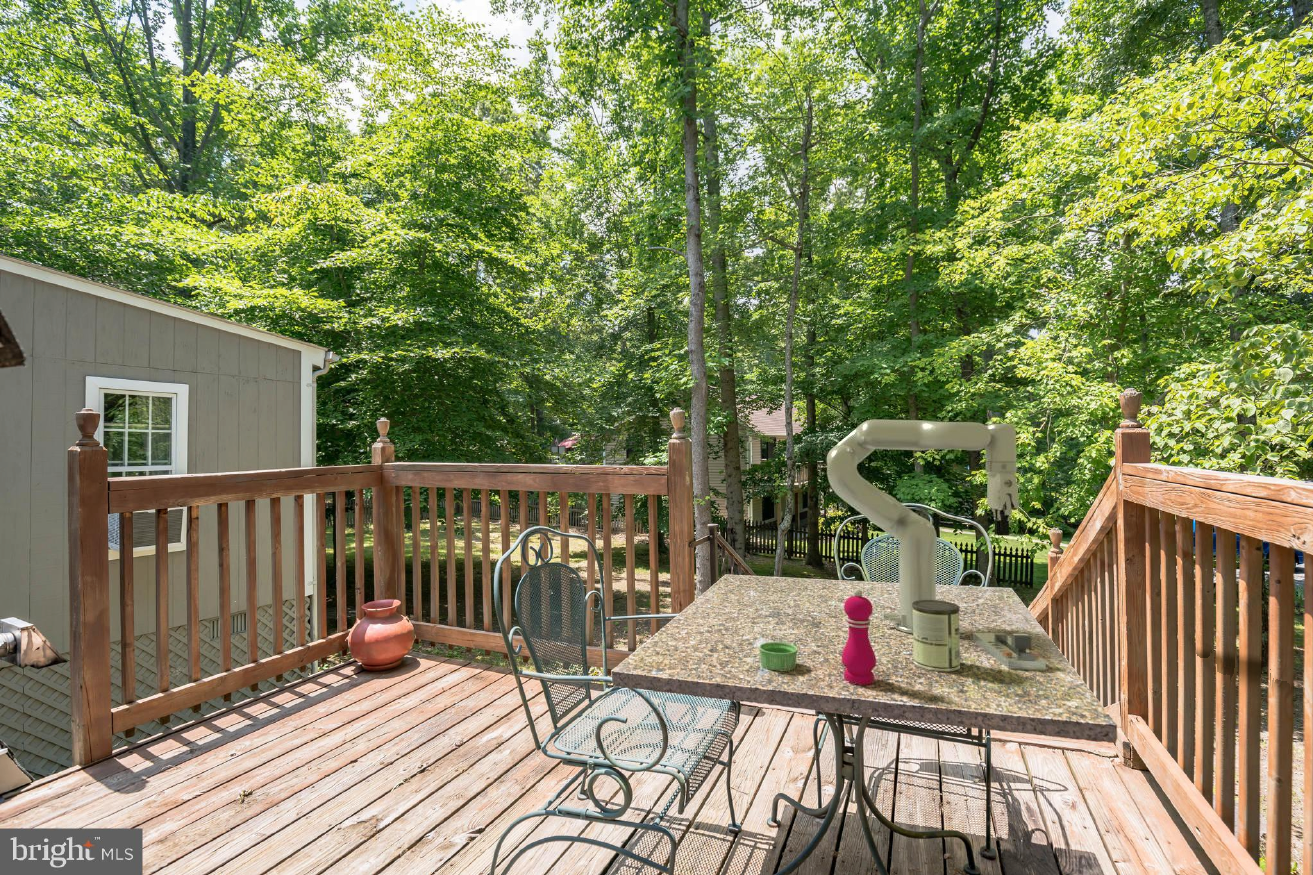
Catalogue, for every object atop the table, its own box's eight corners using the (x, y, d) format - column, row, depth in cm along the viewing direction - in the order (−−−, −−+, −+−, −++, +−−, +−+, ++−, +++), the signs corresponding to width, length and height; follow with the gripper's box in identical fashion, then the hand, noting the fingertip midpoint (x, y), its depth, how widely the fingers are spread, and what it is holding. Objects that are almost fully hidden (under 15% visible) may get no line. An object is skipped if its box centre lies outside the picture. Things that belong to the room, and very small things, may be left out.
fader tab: (1015, 655, 153) (1014, 635, 153) (1011, 652, 155) (1011, 632, 155) (1031, 655, 152) (1031, 635, 152) (1027, 653, 154) (1027, 633, 154)
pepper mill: (837, 675, 146) (836, 586, 147) (868, 674, 147) (867, 585, 147) (849, 686, 139) (848, 593, 139) (881, 685, 140) (880, 592, 140)
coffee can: (911, 655, 160) (911, 598, 160) (957, 660, 156) (957, 601, 157) (913, 669, 150) (913, 607, 150) (962, 674, 147) (962, 611, 147)
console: (1008, 668, 150) (1008, 653, 150) (972, 640, 173) (972, 626, 173) (1045, 670, 149) (1045, 654, 149) (1004, 641, 172) (1004, 627, 172)
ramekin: (775, 675, 147) (774, 655, 147) (751, 663, 155) (751, 645, 155) (805, 668, 151) (805, 649, 151) (781, 657, 159) (781, 639, 159)
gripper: (1027, 469, 172) (1028, 538, 171) (1004, 467, 187) (1005, 531, 186) (997, 469, 173) (998, 538, 172) (976, 467, 188) (977, 531, 187)
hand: (1001, 534), depth 179 cm, fingers closed
